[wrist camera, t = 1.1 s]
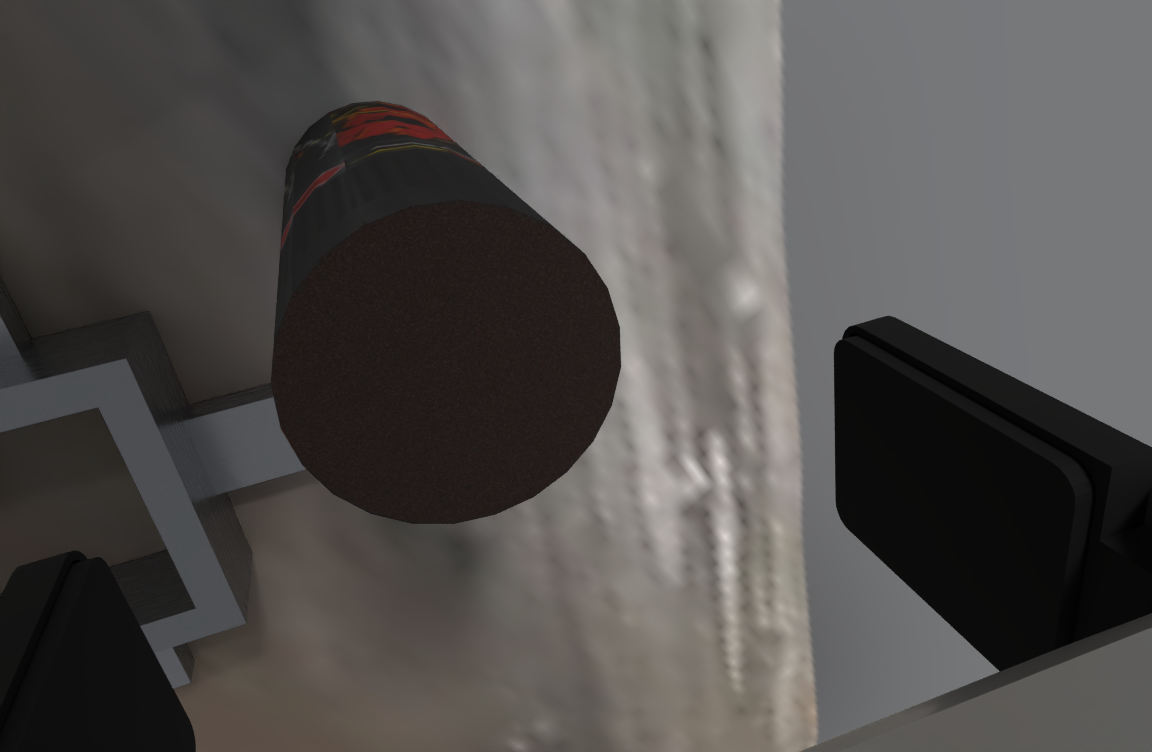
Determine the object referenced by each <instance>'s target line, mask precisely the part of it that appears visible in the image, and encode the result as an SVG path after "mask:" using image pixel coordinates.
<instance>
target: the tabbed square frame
mask: <svg viewBox="0 0 1152 752" xmlns="http://www.w3.org/2000/svg"><path fill="white" fill-rule="evenodd" d="M97 407H98V408H99V410H100V412H101V414H102V416H103V418H104V420H105V422H106V424H107V426H108V428H109V430H110V432H111V435H112V437H113V439H114V441H115V443H116V445H117V447H118V449H119V451H120V453H121V455H122V457H123V459H124V461H125V463H126V465H127V467H128V469H129V472H130V474H131V476H132V478H133V480H134V482H135V484H136V486H137V488H138V490H139V492H140V494H141V496H142V498H143V500H144V502H145V504H146V506H147V509H148V511H149V513H150V515H151V517H152V519H153V521H154V523H155V525H156V527H157V529H158V531H159V533H160V535H161V537H162V539H163V541H164V544H165V546H166V548H167V550H166V551H163V552H159V553H156V554H153V555H149V556H146V557H142V558H139V559H136V560H132V561H129V562H126V563H122V564H119V565H115V566H112V567H109V568H110V570H111V572H112V574H113V576H114V577H115V579H116V581H117V583H118V585H119V587H120V589H121V591H122V593H123V595H124V596H125V598H126V600H127V602H128V604H129V606H130V608H131V610H132V612H133V614H134V615H135V617H136V619H137V621H138V623H139V625H140V627H141V629H142V631H143V632H144V634H145V636H146V638H147V640H148V642H149V644H150V646H151V648H152V650H153V651H154V653H155V655H156V657H157V659H158V661H159V663H160V665H161V667H162V669H163V670H164V672H165V674H166V676H167V678H168V680H169V682H170V684H171V686H172V688H173V689H174V688H177V687H180V686H183V685H186V684H189V683H191V679H192V673H193V667H194V659H193V657H192V655H191V653H190V651H189V649H188V647H187V645H186V643H187V642H190V641H194V640H197V639H200V638H203V637H206V636H209V635H212V634H215V633H219V632H222V631H225V630H228V629H231V628H234V627H237V626H240V625H244V624H246V621H247V609H248V597H249V585H250V573H251V561H252V552H251V550H250V547H249V545H248V543H247V540H246V538H245V535H244V533H243V531H242V528H241V526H240V524H239V521H238V519H237V517H236V514H235V512H234V510H233V507H232V505H231V503H230V500H229V498H228V496H227V493H226V492H229V491H232V490H236V489H239V488H243V487H246V486H250V485H253V484H257V483H260V482H264V481H267V480H271V479H274V478H278V477H281V476H285V475H288V474H292V473H295V472H299V471H302V470H306V468H305V467H304V466H302V464H301V462H300V461H299V459H298V457H297V455H296V454H295V452H294V450H293V449H292V447H291V445H290V444H289V442H288V440H287V438H286V437H285V435H284V433H283V432H282V430H281V428H280V423H279V419H278V415H277V410H276V406H275V402H274V397H273V393H272V389H271V384H268V385H264V386H260V387H256V388H252V389H249V390H245V391H241V392H237V393H233V394H229V395H226V396H222V397H218V398H214V399H210V400H207V401H203V402H199V403H195V404H191V405H189V404H188V402H187V399H186V397H185V395H184V392H183V390H182V388H181V385H180V383H179V381H178V378H177V376H176V374H175V371H174V369H173V367H172V364H171V362H170V360H169V357H168V355H167V352H166V350H165V348H164V345H163V343H162V341H161V338H160V336H159V334H158V331H157V329H156V327H155V324H154V322H153V320H152V317H151V315H150V313H149V311H148V312H144V313H140V314H136V315H131V316H127V317H123V318H119V319H115V320H110V321H106V322H102V323H98V324H93V325H89V326H85V327H81V328H77V329H72V330H68V331H64V332H60V333H56V334H51V335H47V336H43V337H39V338H34V339H31V337H30V335H29V333H28V331H27V330H26V328H25V326H24V324H23V322H22V320H21V318H20V316H19V314H18V312H17V310H16V308H15V306H14V304H13V302H12V300H11V298H10V296H9V294H8V292H7V290H6V288H5V286H4V284H3V282H2V280H1V278H0V432H4V431H8V430H12V429H16V428H20V427H24V426H27V425H31V424H35V423H39V422H43V421H47V420H51V419H55V418H59V417H62V416H66V415H70V414H74V413H78V412H82V411H86V410H90V409H93V408H97Z"/></svg>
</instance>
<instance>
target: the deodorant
mask: <svg viewBox="0 0 1152 752" xmlns="http://www.w3.org/2000/svg"><path fill="white" fill-rule="evenodd" d="M620 369H621V353H620V326H619V323H618V320H617V317H616V313H615V310H614V307H613V304H612V300H611V297H610V294H609V291H608V288H607V286H606V285H605V283H604V282H603V280H602V279H601V277H600V276H599V274H598V273H597V271H596V270H595V268H594V267H593V265H592V264H591V262H590V261H589V259H588V258H587V256H586V255H585V253H583V252H582V251H581V250H580V249H579V248H578V247H576V246H575V245H574V244H573V243H572V242H571V241H569V240H568V239H567V238H566V237H565V236H564V235H562V234H561V233H560V232H559V231H558V230H557V229H555V228H554V227H553V226H552V225H551V224H550V223H549V222H547V221H546V220H545V219H544V218H543V217H542V216H540V215H539V214H538V213H537V212H536V211H535V210H533V209H532V208H531V207H530V206H529V205H528V204H526V203H525V202H524V201H523V200H522V199H521V198H519V197H518V196H517V195H516V194H515V193H514V192H513V191H511V190H510V189H509V188H508V187H507V186H506V185H504V184H503V183H502V182H501V181H500V180H499V179H497V178H496V177H495V176H494V175H493V174H492V173H490V172H489V171H488V170H487V169H486V168H485V167H483V166H482V165H481V164H480V163H479V162H478V161H477V160H475V159H474V158H473V157H472V156H471V155H470V154H468V153H467V152H466V151H465V150H464V149H463V148H461V147H460V146H459V145H458V144H457V143H456V142H454V141H453V140H452V139H451V138H450V137H449V136H447V135H446V134H445V133H444V132H443V131H442V130H440V129H439V128H438V127H437V126H436V125H434V124H433V123H432V122H431V121H430V120H429V119H427V118H426V117H425V116H423V115H421V114H419V113H417V112H414V111H412V110H410V109H408V108H406V107H404V106H401V105H396V104H390V103H385V102H379V101H374V102H363V103H352V104H350V105H347V106H345V107H342V108H339V109H337V110H334V111H331V112H329V113H328V114H326V115H325V116H324V117H322V118H321V119H320V120H318V121H317V122H316V123H314V124H313V125H312V126H310V127H309V128H308V130H307V131H306V132H305V134H304V135H303V136H302V138H301V139H300V140H299V142H298V143H297V144H296V146H295V147H294V150H293V153H292V156H291V158H290V161H289V164H288V166H287V169H286V179H285V193H284V207H283V221H282V235H281V250H280V264H279V278H278V292H277V306H276V320H275V334H274V348H273V362H272V376H271V389H272V393H273V397H274V402H275V406H276V410H277V415H278V419H279V423H280V428H281V430H282V432H283V433H284V435H285V437H286V438H287V440H288V442H289V444H290V445H291V447H292V449H293V450H294V452H295V454H296V455H297V457H298V459H299V461H300V462H301V464H302V466H304V467H305V468H306V469H307V470H308V471H309V472H310V473H311V474H312V475H313V476H314V477H315V478H316V479H317V480H319V481H320V482H321V483H322V484H323V485H324V486H325V487H326V488H327V489H328V490H329V491H330V492H331V493H332V494H334V495H336V496H338V497H340V498H341V499H343V500H345V501H347V502H349V503H351V504H353V505H355V506H357V507H359V508H361V509H363V510H365V511H366V512H368V513H370V514H374V515H378V516H382V517H386V518H391V519H395V520H399V521H403V522H407V523H412V524H455V523H459V522H464V521H469V520H473V519H478V518H482V517H486V516H491V515H495V514H497V513H500V512H502V511H504V510H506V509H508V508H511V507H513V506H515V505H517V504H519V503H522V502H524V501H526V500H528V499H530V498H533V497H534V496H536V495H537V494H538V493H540V492H541V491H542V490H544V489H545V488H546V487H548V486H549V485H550V484H552V483H553V482H554V481H556V480H557V479H558V478H560V477H561V476H562V475H564V474H565V473H566V472H567V471H568V470H569V469H570V468H571V467H572V466H573V464H574V463H575V462H576V461H577V460H578V459H579V457H580V456H581V455H582V454H583V453H584V452H585V450H586V449H587V448H588V447H589V446H590V445H591V443H592V442H593V441H594V439H595V437H596V435H597V433H598V431H599V429H600V427H601V425H602V423H603V422H604V420H605V418H606V416H607V414H608V412H609V410H610V408H611V406H612V402H613V398H614V394H615V390H616V386H617V381H618V377H619V373H620Z"/></svg>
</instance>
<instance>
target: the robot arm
mask: <svg viewBox="0 0 1152 752" xmlns="http://www.w3.org/2000/svg"><path fill="white" fill-rule="evenodd" d="M834 395H835V396H834V398H835V482H836V484H835V485H836V507H837V511H838V514H839V516H840V519H841V520H842V522H843V523H844V525H845V526H846V527H847V528H848V530H849V531H850V532H852V533H853V534H854V535H855V536H856V537H857V538H858V539H859V540H860V541H861V542H862V543H863V544H864V545H865V546H867V547H868V548H869V549H870V550H871V551H872V552H873V553H874V554H875V555H876V556H877V557H878V558H879V559H880V560H881V561H883V562H884V563H885V564H886V565H887V566H888V567H889V568H890V569H891V570H892V571H893V572H894V573H895V574H896V575H897V576H899V577H900V578H901V579H902V580H903V581H904V582H905V583H906V584H907V585H908V586H909V587H910V588H911V589H912V590H913V591H915V592H916V593H917V594H918V595H919V596H920V597H921V598H922V599H923V600H924V601H925V602H926V603H928V605H929V606H931V607H932V608H933V609H934V610H935V611H936V612H937V613H938V614H939V615H941V617H942V618H943V619H944V620H945V621H947V622H948V623H949V624H950V625H951V626H952V627H953V628H954V629H955V630H956V631H957V632H958V633H959V634H960V635H962V636H963V637H964V638H965V639H966V640H967V641H968V642H969V643H970V644H971V645H972V646H973V647H974V648H975V649H976V650H978V651H979V652H980V653H981V654H982V655H983V656H984V657H985V658H986V659H987V660H988V661H989V662H990V663H991V664H993V665H994V666H995V667H996V668H997V669H998V670H999V671H1000V672H998V673H996V674H993V675H991V676H988V677H986V678H983V679H981V680H978V681H976V682H973V683H970V684H968V685H965V686H963V687H960V688H958V689H955V690H953V691H950V692H948V693H945V694H943V695H940V696H938V697H935V698H933V699H930V700H928V701H925V702H923V703H920V704H918V705H915V706H913V707H910V708H908V709H905V710H903V711H900V712H898V713H895V714H893V715H890V716H888V717H885V718H883V719H880V720H878V721H875V722H873V723H870V724H868V725H865V726H862V727H860V728H857V729H855V730H853V731H850V732H848V733H845V734H843V735H840V736H838V737H835V738H833V739H830V740H828V741H825V742H823V743H820V744H818V745H815V746H813V747H810V748H808V749H805V750H803V751H801V752H1152V447H1150V446H1148V445H1146V444H1144V443H1142V442H1140V441H1138V440H1136V439H1134V438H1132V437H1130V436H1128V435H1126V434H1124V433H1122V432H1120V431H1118V430H1116V429H1114V428H1112V427H1111V426H1109V425H1107V424H1105V423H1103V422H1100V421H1098V420H1097V419H1095V418H1093V417H1091V416H1089V415H1087V414H1085V413H1083V412H1081V411H1079V410H1077V409H1075V408H1073V407H1071V406H1069V405H1067V404H1065V403H1063V402H1061V401H1059V400H1057V399H1055V398H1053V397H1051V396H1049V395H1047V394H1045V393H1043V392H1041V391H1039V390H1037V389H1035V388H1033V387H1031V386H1029V385H1027V384H1025V383H1023V382H1021V381H1019V380H1017V379H1016V378H1014V377H1012V376H1010V375H1008V374H1005V373H1003V372H1002V371H1000V370H998V369H996V368H994V367H992V366H990V365H988V364H986V363H984V362H982V361H980V360H978V359H976V358H974V357H972V356H970V355H968V354H966V353H964V352H962V351H960V350H958V349H956V348H954V347H952V346H950V345H948V344H946V343H944V342H942V341H940V340H938V339H936V338H934V337H932V336H930V335H928V334H927V333H925V332H922V331H921V330H918V329H917V328H915V327H913V326H911V325H909V324H907V323H905V322H903V321H901V320H899V319H897V318H895V317H891V316H885V317H881V318H878V319H874V320H871V321H867V322H864V323H861V324H857V325H854V326H850V327H848V328H847V329H846V330H845V332H844V335H843V338H842V340H839V341H838V342H837V343H836V346H835V348H834ZM0 752H196V744H195V736H194V731H193V728H192V725H191V722H190V720H189V718H188V716H187V714H186V712H185V710H184V708H183V707H182V705H181V703H180V701H179V699H178V697H177V695H176V693H175V691H174V689H173V688H172V686H171V684H170V682H169V680H168V678H167V676H166V674H165V672H164V670H163V669H162V667H161V665H160V663H159V661H158V659H157V657H156V655H155V653H154V651H153V650H152V648H151V646H150V644H149V642H148V640H147V638H146V636H145V634H144V632H143V631H142V629H141V627H140V625H139V623H138V621H137V619H136V617H135V615H134V614H133V612H132V610H131V608H130V606H129V604H128V602H127V600H126V598H125V596H124V595H123V593H122V591H121V589H120V587H119V585H118V583H117V581H116V579H115V577H114V576H113V574H112V572H111V570H110V568H109V566H108V565H107V563H106V562H105V561H104V560H103V559H102V558H99V557H96V558H92V559H89V560H88V559H87V558H86V557H85V556H84V555H83V554H82V553H81V552H79V551H76V550H74V551H71V552H67V553H64V554H60V555H57V556H53V557H50V558H46V559H43V560H39V561H36V562H32V563H29V564H26V565H22V566H20V567H17V568H16V570H15V571H14V572H13V574H12V575H11V577H10V579H9V581H8V583H7V585H6V587H5V589H4V591H3V593H2V595H1V597H0Z"/></svg>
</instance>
